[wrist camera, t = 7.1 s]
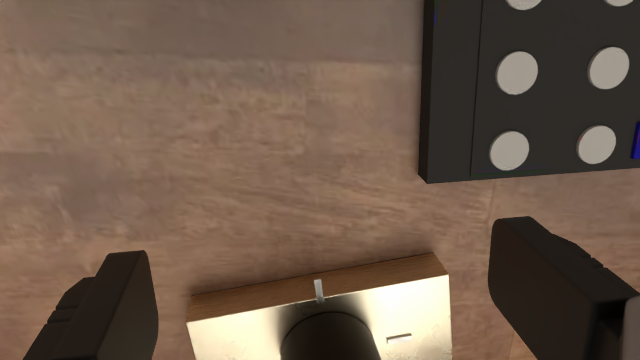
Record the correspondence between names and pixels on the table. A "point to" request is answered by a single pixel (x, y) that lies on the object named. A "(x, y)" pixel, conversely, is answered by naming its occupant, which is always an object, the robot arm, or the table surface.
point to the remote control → (529, 88)
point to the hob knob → (330, 339)
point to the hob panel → (331, 311)
